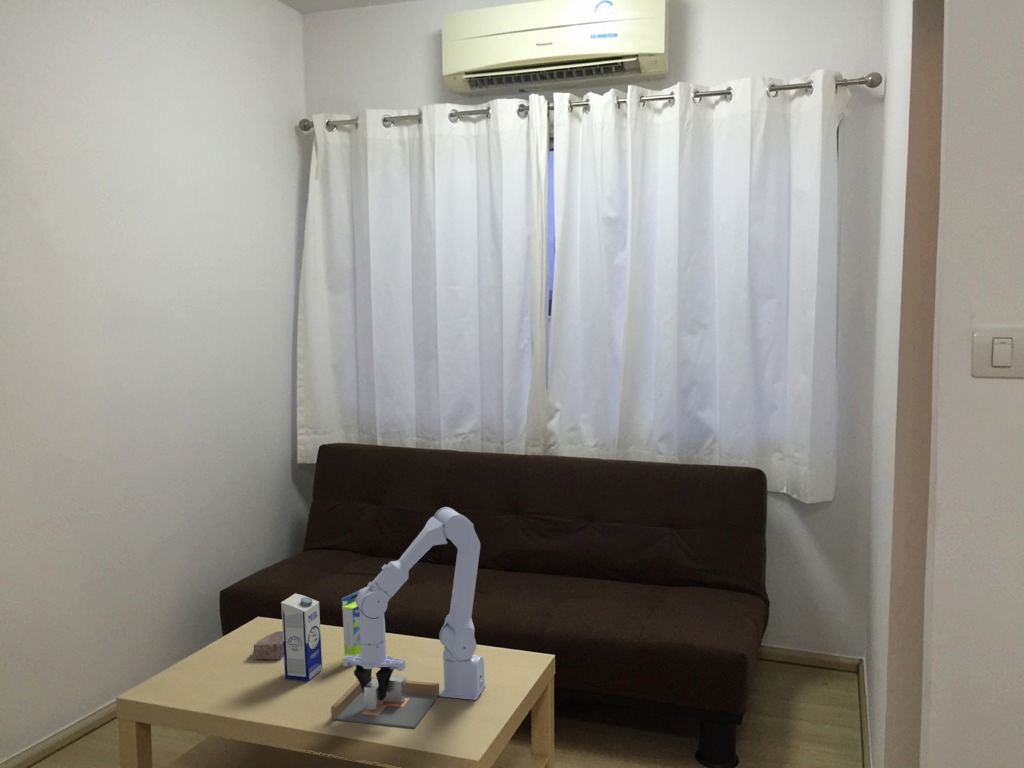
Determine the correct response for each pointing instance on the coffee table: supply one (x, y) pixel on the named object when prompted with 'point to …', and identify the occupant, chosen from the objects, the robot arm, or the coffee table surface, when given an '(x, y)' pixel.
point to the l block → (393, 694)
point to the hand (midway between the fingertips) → (375, 697)
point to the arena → (387, 706)
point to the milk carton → (301, 637)
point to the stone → (270, 647)
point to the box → (351, 625)
